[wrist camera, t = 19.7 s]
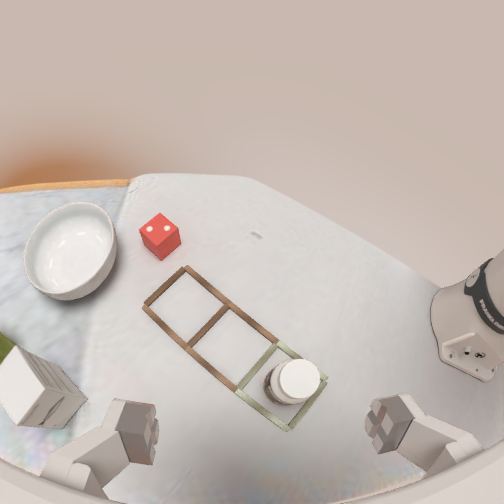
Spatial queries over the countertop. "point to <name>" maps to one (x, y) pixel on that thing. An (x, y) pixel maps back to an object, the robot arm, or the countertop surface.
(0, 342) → the plant pot
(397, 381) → the countertop surface
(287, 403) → the pill bottle
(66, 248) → the cereal bowl
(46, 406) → the supplement box
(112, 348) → the countertop surface
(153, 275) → the countertop surface
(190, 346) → the track frame
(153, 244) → the red die
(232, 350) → the countertop surface
